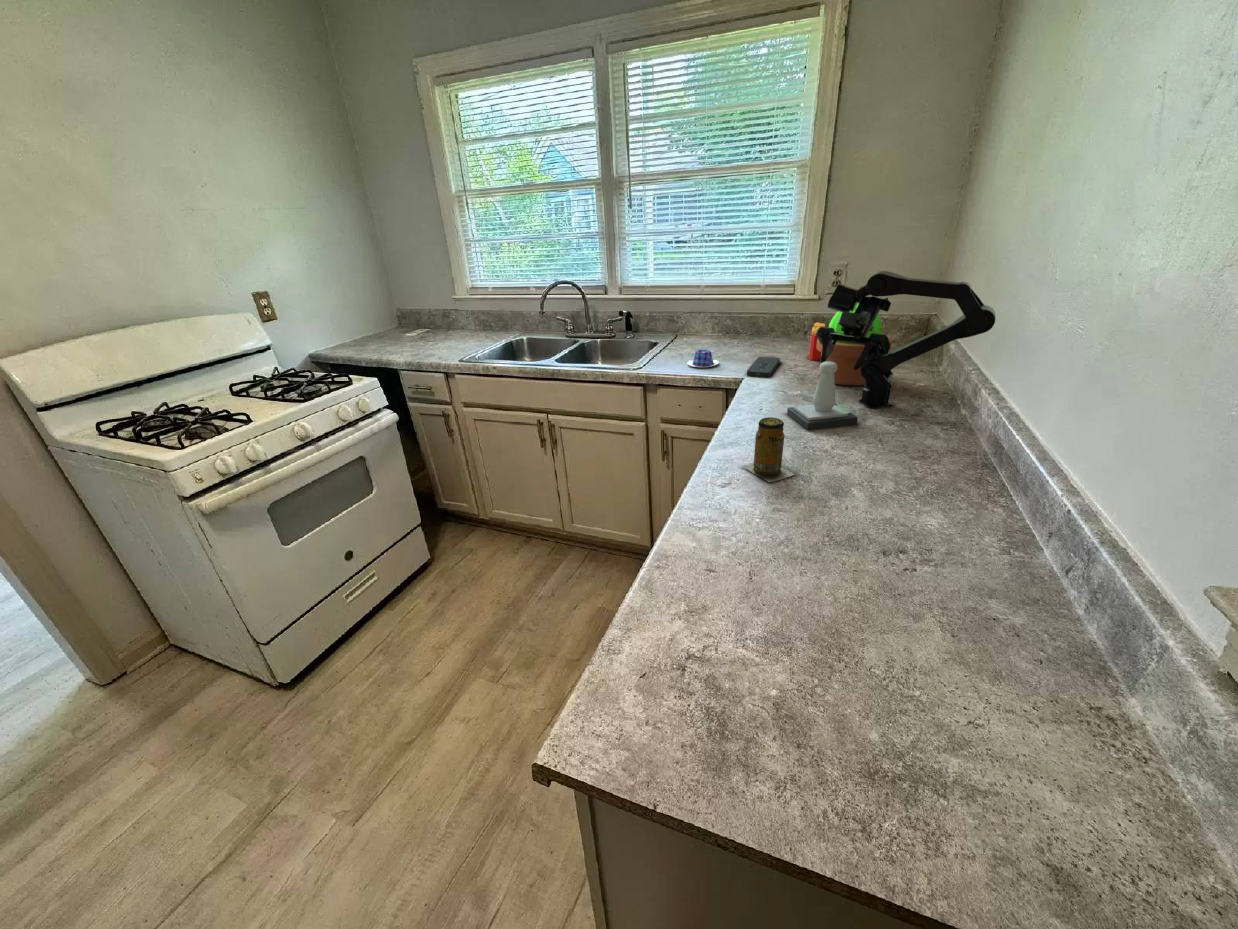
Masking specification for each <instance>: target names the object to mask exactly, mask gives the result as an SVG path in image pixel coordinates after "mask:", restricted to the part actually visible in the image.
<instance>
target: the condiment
mask: <svg viewBox="0 0 1238 929" xmlns="http://www.w3.org/2000/svg"><path fill="white" fill-rule="evenodd" d="M784 425H785V422H784V421H783V420H782V419H780V418H778V417H771V416H770V417H768V416H767V417H763V418H761V419H759V421H758V426H757V431H756V433H755V441H754V452H753V453H754V455H753V464H752V465H748V466H744V469H746V470H747V471H749V472H751V473H752V474H754V475H756V476H757V477H760V479H762V480H764V481H766V482H768V483H774V482H777V481H781V480H783V479H786V478H789V477H792V476H794V475H796V474H795V473H794V472H792V471H790V470H788V469H786V468H784V467H782V463H783V454H784V446H785V445H784V444H785V433H784V429H785V428H784Z"/></svg>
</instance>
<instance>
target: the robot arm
mask: <svg viewBox="0 0 1238 929" xmlns="http://www.w3.org/2000/svg"><path fill="white" fill-rule="evenodd" d="M898 295H899V296H900V295H907V296H918V297H927V298H937V299H945V300H946V299H948V300H954V301H955V302H956V304H957V306H958V307H959V309H960V310H961V312H962V315H961V316H960V317H958V318H957V319H955V320H954V321H953V322H952V323H950V324H948V325H946V326H944V327H942V328H940V329H938V330H935V331H933V332H931V333H929V334H927V335H924V336H923V337H920V338H918V339H916V340H914V341H912V342H909V343H907V344H905V345H903V346H900V347H899V348H896V349H894V350H891V349H890V343H889V339H888V337H887V335H888V334H886V333H883V334H879V333H871V334H870V336H869V338H868V337H866V336H867V334H868V332H869V331H872V330H873V326H872V325H873V323H874V321H875V319H876V317H877V316H878V315H880V312H881V311H883V312H889V311H890V308H891V305H892V303H891V301H890V299H889V298H888V297H892V296H898ZM881 297H886V298H881ZM857 303H859V305H858V307H857V309H856V311H855V312H854V313H850V310H851V311H854V309H855V307H856V305H857ZM827 308H828V309H831V310H834V311H837V312H838V311H840V312H841V314H840V317H839V320H838V323H837V324H838V325H841V326H842V327H841V331H843V332H844V333H843V334H838V333H836V332H835V330H834V328H831V327H829V326H824V327H823V326H822V327H820V328H819V329H818V330H817V332H816V336H817V338H818V340H819V342H820V343H821V344H822V345H823V348H822V352H821V358H820V364H821V363H823V362H826V360H827V359H828V357H829V356H830V354H831V352H832V351H833V349H834V346H833V345H835V344H836V342H837V341H841V342H848V343H854V344H861V345H865V346H864V349H863V351H862V353H861V355H860V356H859V358H858V360H857V361H856V363H855V365H854V368H853V369H854V370H857V369H858V368H860V367H861V366H862V367H861V375H862V376H863V378H865V380H866V383H865V385H864V387H863V388H862V392H861V398H859V399H858V402H859V403H861V404H863V405H865V406H866V407H867V408H870V409H877V408H885V407H892V406H893V403H891V402H889V401H890V396H891V391H892V386H893V383H892V382H890V381H891V379H892V378H893V376H894V372H893V371H892V370H893V369H894V368H896V367H897V366H899V365H901V364H904V363H906V362H908V361H910V360H913V359H914V358H917V357H919V356H922V355H923V354H926V353H928V352H930V351H933V350H935V349H938V348H940V347H941V346H944V345H947V344H948V343H951V342H953V341H956V340H960V339H964V338H970V337H975V336H979V335H982V334H984V333H988V332H989V331H990V330H991V329H993V327H994V326H995V323H996V312H995V310H994V308H993V307H992V306H989V305H986V304H984V303H983V301H982V299H981V298H980V297H979V296H978V295H977V293H976V292H975V291H974V290H973V288H972V285H971V284H970V283H969V282H967V281H960V282H958V281H948V280H947V281H946V280H935V279H924V278H915V277H914V278H913V277H912V278H911V277H907V276H905V275H901V274H899V273H895V272H891V271H888V270H887V271H886V270H880V271H878V272H876V273H875V274H873V275H871V276H870V277H869V279H867V282H866V284H865V285H861V286H860V287H859V288H858V289H857V288H854V287H851V286H847V285H845V284H843V283H839V284H837V286H836V287H835V290H834V291H833V292H832V295H831V296H830V298H829V300H828V303H827ZM889 349H890V351H889ZM888 351H889V352H888Z"/></svg>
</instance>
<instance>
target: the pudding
mask: <svg viewBox="0 0 1238 929" xmlns="http://www.w3.org/2000/svg"><path fill="white" fill-rule="evenodd" d="M719 363H720V362H719V360H717V359H714V358H713V355H712V351H711V349H698V350H696V351H695V353H694V355H693V358H692V359H690V360H688V361H687V365H688V366H691V367H694V368H710V367H714V366H717V365H718V364H719Z"/></svg>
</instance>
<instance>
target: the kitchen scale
mask: <svg viewBox="0 0 1238 929" xmlns="http://www.w3.org/2000/svg"><path fill="white" fill-rule="evenodd" d="M786 415H787V416H789V417H790V418H791V419H792V420H794V421H795V422H796V423H797V424H799V425H800V426H801V427H803V428H804V429H805V430H806V431H812V430H821V429H827V428H837V427H843V426H844V427H845V426H852V425H857V424H858V419H859V417H858V416H857V415H855V414H853V413H852V411H850V410H848V408H845V407H844V406H843V405H840V404H837V403H836V402H835V404H834V406H833V408H832V409H831V410H830V411H828V412H820V411H817V410H815V408H814V405H813V403H812V404H803V405H794V406H791V407H787V410H786Z"/></svg>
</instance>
